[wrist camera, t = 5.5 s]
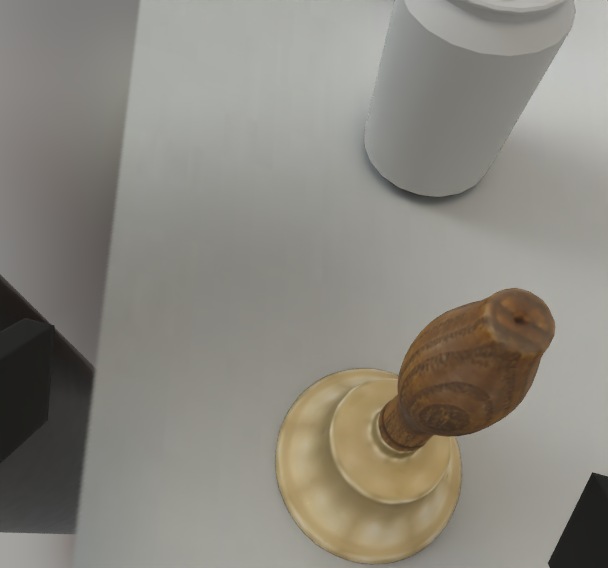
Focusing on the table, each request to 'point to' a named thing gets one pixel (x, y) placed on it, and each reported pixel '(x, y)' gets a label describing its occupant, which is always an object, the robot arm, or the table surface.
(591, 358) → the table surface
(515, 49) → the can
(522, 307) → the hand bell
